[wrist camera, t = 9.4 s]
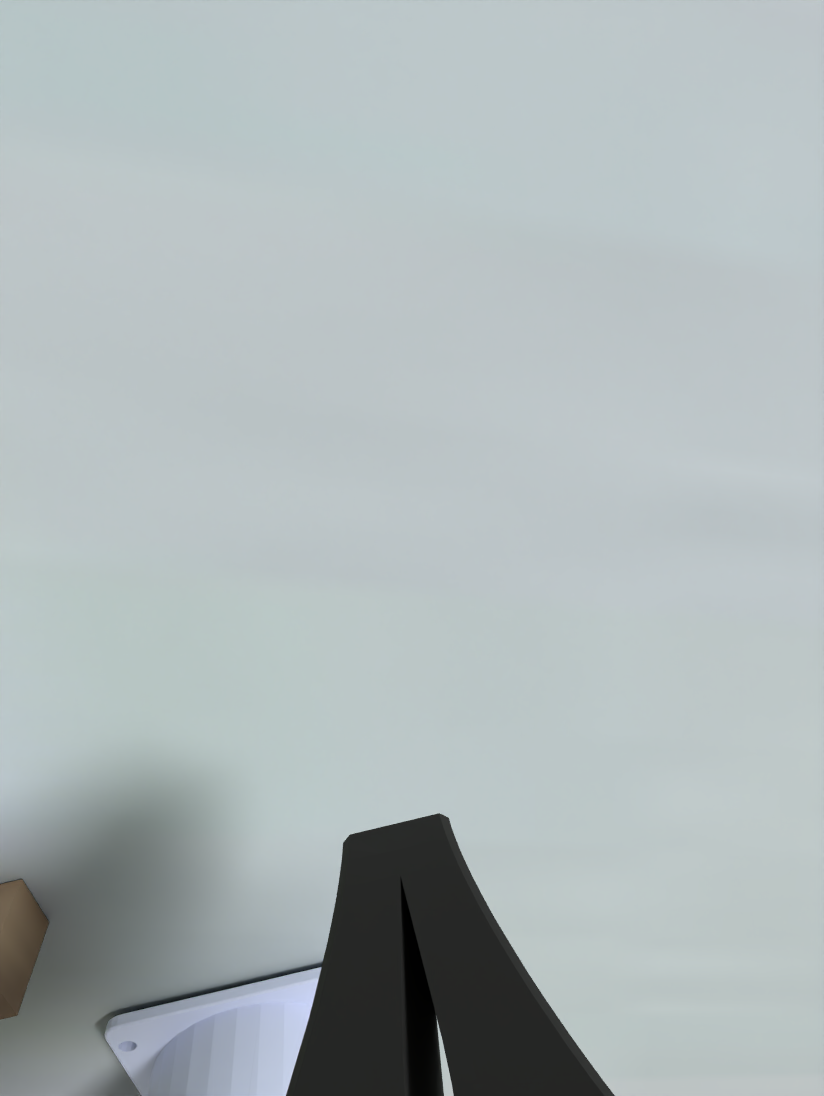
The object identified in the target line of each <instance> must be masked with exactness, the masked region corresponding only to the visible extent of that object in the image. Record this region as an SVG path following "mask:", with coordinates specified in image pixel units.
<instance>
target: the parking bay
mask: <svg viewBox="0 0 824 1096" xmlns="http://www.w3.org/2000/svg"><path fill="white" fill-rule="evenodd" d="M48 924H49V922H48V920H47V918H46V917H45V915H44V914H43V912H42V910H41V909H40V907H39V906H38V904H37V902H36V901H35V899H34V898H33V896H32V894H31V893H30V891H29V889H28V888H27V886H26V885H25V883H24V881H23V880H22V879H21V880H16V881H12V882H7V883H3V884H0V1019H4V1018H9V1017H13V1016H17V1015H18V1012H19V1009H20V1006H21V1003H22V1000H23V997H24V994H25V992H26V989H27V986H28V983H29V980H30V977H31V974H32V971H33V968H34V965H35V962H36V959H37V956H38V953H39V951H40V948H41V945H42V942H43V939H44V936H45V933H46V930H47V927H48Z"/></svg>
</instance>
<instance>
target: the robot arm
mask: <svg viewBox="0 0 824 1096" xmlns="http://www.w3.org/2000/svg"><path fill="white" fill-rule="evenodd" d="M436 1016H437V1019H436ZM437 1020H438V1024H439V1028H440V1032H441V1036H442V1040H443V1044H444V1049H445V1054H446V1058H447V1063H448V1068H449V1072H450V1077H451V1082H452V1087H453V1093H454V1096H614V1094H613V1093H612V1092H611V1090H610V1089H609V1088H608V1086H607V1085H606V1084H605V1083H604V1081H603V1080H602V1079H601V1077H600V1076H599V1074H598V1073H597V1072H596V1070H595V1069H594V1068H593V1066H592V1065H591V1064H590V1062H589V1061H588V1060H587V1058H586V1057H585V1055H584V1054H583V1053H582V1051H581V1050H580V1048H579V1047H578V1046H577V1044H576V1043H575V1042H574V1040H573V1039H572V1037H571V1036H570V1035H569V1033H568V1032H567V1030H566V1029H565V1027H564V1026H563V1024H562V1023H561V1021H560V1020H559V1019H558V1017H557V1016H556V1014H555V1013H554V1011H553V1010H552V1008H551V1007H550V1005H549V1004H548V1003H547V1001H546V1000H545V998H544V997H543V995H542V994H541V992H540V991H539V989H538V988H537V986H536V984H535V983H534V981H533V980H532V978H531V977H530V975H529V974H528V972H527V971H526V969H525V967H524V966H523V964H522V963H521V961H520V959H519V958H518V956H517V954H516V953H515V951H514V949H513V948H512V946H511V945H510V943H509V941H508V940H507V938H506V936H505V935H504V933H503V931H502V930H501V928H500V926H499V925H498V923H497V921H496V920H495V918H494V916H493V914H492V913H491V911H490V909H489V907H488V906H487V904H486V902H485V900H484V898H483V896H482V894H481V892H480V890H479V888H478V887H477V885H476V883H475V881H474V879H473V877H472V875H471V873H470V871H469V869H468V867H467V864H466V862H465V860H464V858H463V856H462V853H461V851H460V849H459V846H458V844H457V841H456V839H455V836H454V834H453V831H452V828H451V824H450V821H449V818H448V817H446V816H444V815H442V814H440V813H439V814H435V815H430V816H426V817H422V818H418V819H414V820H409V821H405V822H401V823H397V824H393V825H389V826H384V827H380V828H376V829H372V830H368V831H363V832H359V833H355V834H351V835H349V836H348V838H347V839H346V840H345V841H344V843H343V853H342V863H341V871H340V878H339V885H338V891H337V897H336V903H335V908H334V913H333V918H332V923H331V928H330V933H329V938H328V943H327V947H326V951H325V955H324V959H323V963H322V967H319V968H315V969H310V970H306V971H302V972H298V973H293V974H289V975H285V976H281V977H277V978H272V979H268V980H264V981H260V982H255V983H251V984H247V985H243V986H239V987H234V988H230V989H226V990H222V991H217V992H213V993H209V994H205V995H200V996H196V997H192V998H188V999H184V1000H179V1001H175V1002H171V1003H167V1004H162V1005H158V1006H154V1007H150V1008H146V1009H141V1010H137V1011H133V1012H129V1013H124V1014H120V1015H117V1016H115V1017H113V1018H112V1019H110V1020H109V1021H108V1023H107V1026H106V1031H105V1035H104V1036H105V1039H106V1041H107V1043H108V1044H109V1046H110V1047H111V1049H112V1050H113V1052H114V1053H115V1055H116V1057H117V1058H118V1060H119V1061H120V1063H121V1064H122V1066H123V1068H124V1069H125V1071H126V1072H127V1074H128V1075H129V1077H130V1078H131V1080H132V1082H133V1083H134V1085H135V1086H136V1088H137V1089H138V1091H139V1093H140V1094H141V1096H444V1093H443V1082H442V1071H441V1061H440V1050H439V1040H438V1029H437Z"/></svg>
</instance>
